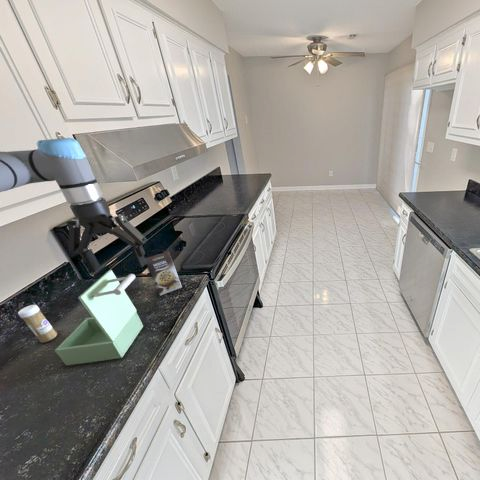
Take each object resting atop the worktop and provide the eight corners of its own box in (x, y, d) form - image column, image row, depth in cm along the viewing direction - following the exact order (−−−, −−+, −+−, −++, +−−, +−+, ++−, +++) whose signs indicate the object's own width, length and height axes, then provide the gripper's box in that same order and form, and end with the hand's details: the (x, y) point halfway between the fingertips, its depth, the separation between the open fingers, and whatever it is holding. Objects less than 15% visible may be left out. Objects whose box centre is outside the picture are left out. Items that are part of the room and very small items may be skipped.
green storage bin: (66, 365, 79) (54, 350, 76) (95, 332, 91) (86, 318, 88) (122, 358, 80) (112, 342, 77) (143, 326, 92) (136, 311, 89)
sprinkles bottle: (54, 339, 89) (32, 310, 83) (37, 345, 87) (14, 315, 81) (59, 331, 93) (39, 302, 87) (43, 335, 91) (21, 307, 85)
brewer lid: (77, 297, 69) (110, 291, 69) (108, 270, 81) (136, 265, 81) (110, 342, 77) (140, 336, 77) (134, 311, 89) (159, 306, 89)
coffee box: (159, 296, 107) (145, 264, 100) (157, 289, 112) (144, 257, 105) (182, 287, 112) (170, 256, 104) (180, 281, 117) (168, 250, 109)
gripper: (142, 192, 71) (167, 257, 81) (49, 200, 70) (85, 265, 79) (127, 200, 65) (156, 270, 74) (23, 209, 63) (67, 279, 73)
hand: (120, 267), depth 77 cm, fingers open, 13 cm apart
